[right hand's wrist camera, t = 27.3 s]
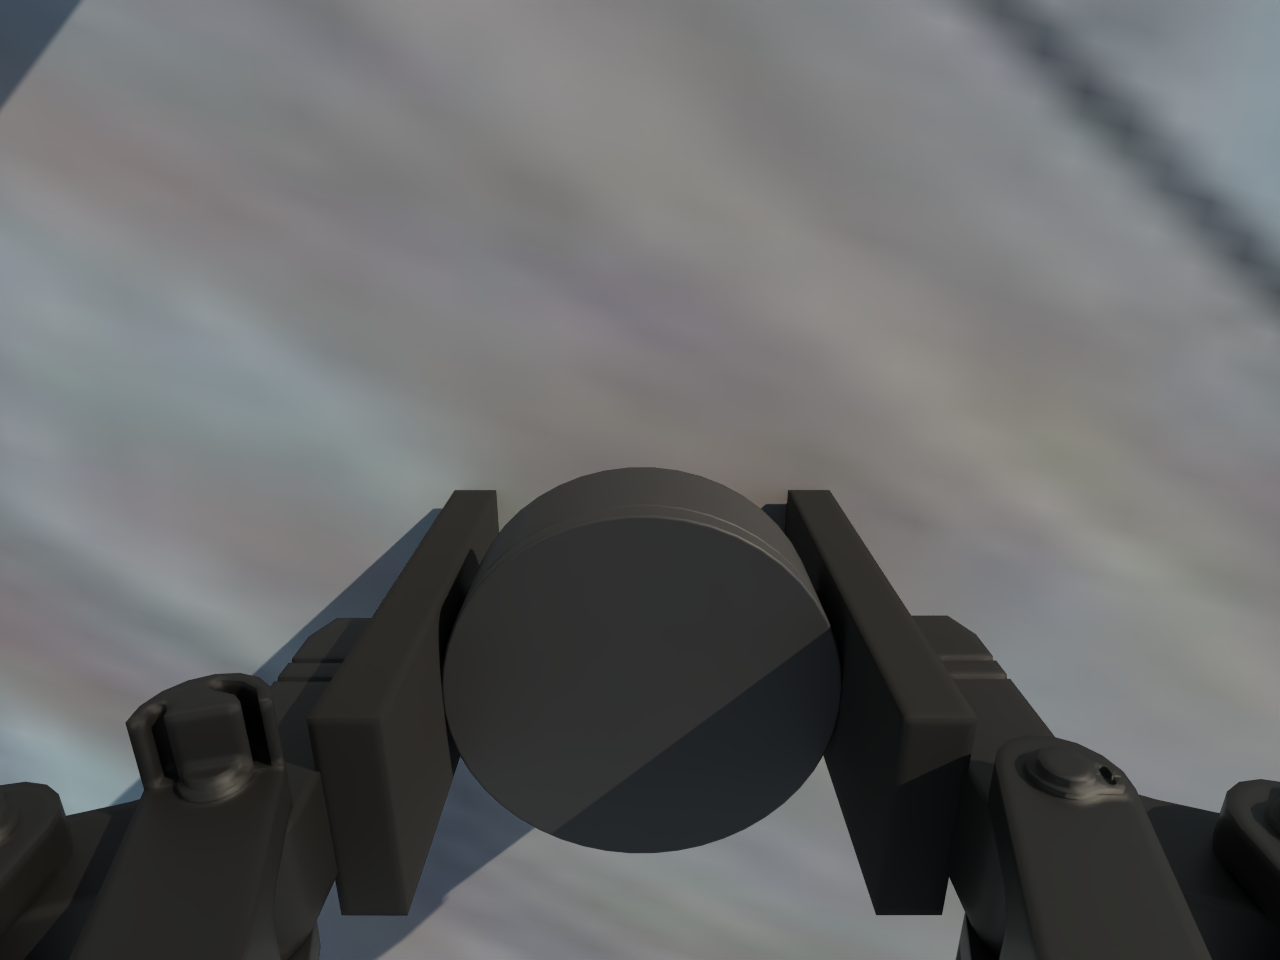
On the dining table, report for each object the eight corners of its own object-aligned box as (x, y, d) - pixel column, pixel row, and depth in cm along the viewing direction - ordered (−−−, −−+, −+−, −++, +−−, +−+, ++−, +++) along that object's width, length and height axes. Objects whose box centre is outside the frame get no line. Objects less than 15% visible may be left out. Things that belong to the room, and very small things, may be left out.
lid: (599, 815, 13) (593, 908, 12) (398, 586, 12) (356, 653, 10) (874, 667, 12) (913, 744, 11) (693, 395, 11) (704, 433, 9)
